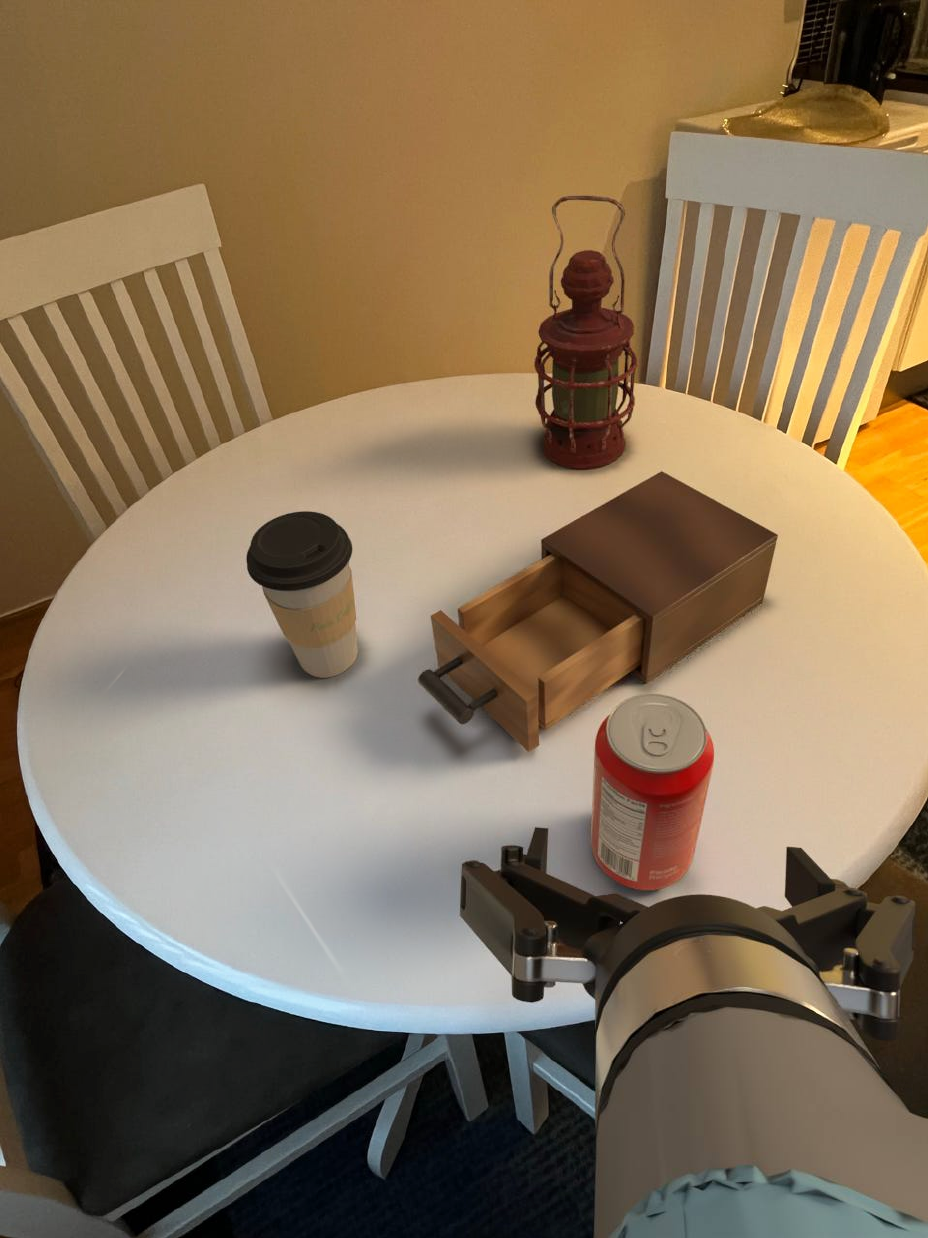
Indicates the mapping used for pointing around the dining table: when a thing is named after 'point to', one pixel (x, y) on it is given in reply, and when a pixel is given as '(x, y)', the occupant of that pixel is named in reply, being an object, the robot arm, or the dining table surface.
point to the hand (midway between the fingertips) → (663, 861)
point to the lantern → (585, 362)
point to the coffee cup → (308, 588)
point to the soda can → (649, 790)
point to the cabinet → (670, 563)
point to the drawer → (534, 649)
